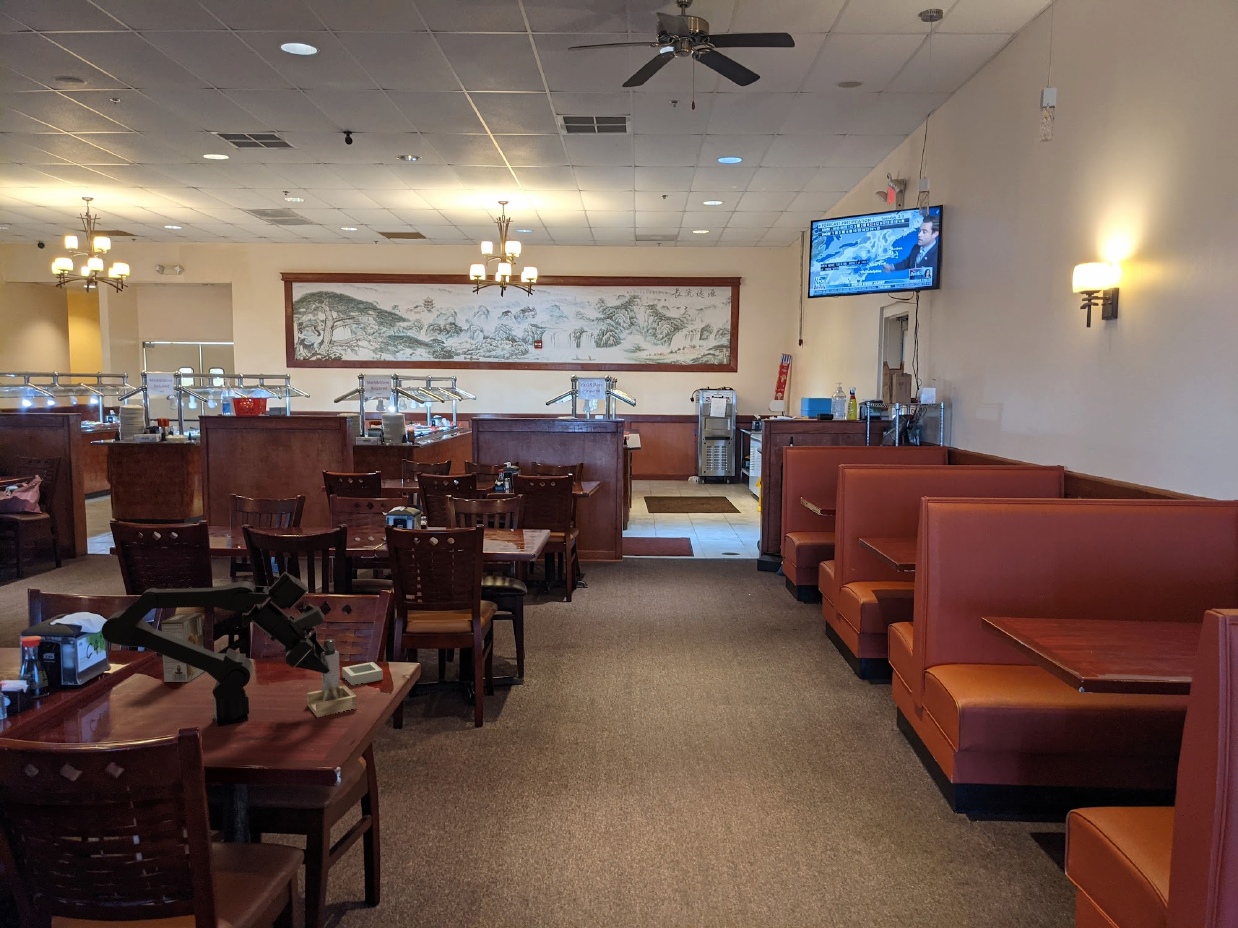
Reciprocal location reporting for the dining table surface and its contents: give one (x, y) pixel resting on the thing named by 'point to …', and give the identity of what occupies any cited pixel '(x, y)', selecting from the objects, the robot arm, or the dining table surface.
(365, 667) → the socket block
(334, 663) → the silver and grey cylinder
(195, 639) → the coffee box
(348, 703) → the beige square tray
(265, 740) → the dining table surface
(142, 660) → the dining table surface
